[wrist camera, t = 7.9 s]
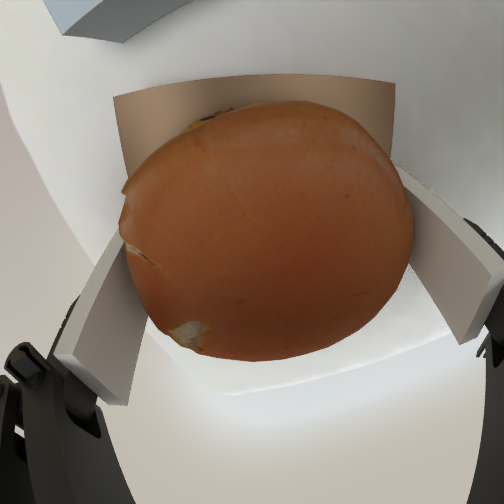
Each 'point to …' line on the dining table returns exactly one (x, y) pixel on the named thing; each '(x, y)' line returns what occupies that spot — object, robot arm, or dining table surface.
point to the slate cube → (108, 16)
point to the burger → (266, 231)
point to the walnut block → (240, 95)
